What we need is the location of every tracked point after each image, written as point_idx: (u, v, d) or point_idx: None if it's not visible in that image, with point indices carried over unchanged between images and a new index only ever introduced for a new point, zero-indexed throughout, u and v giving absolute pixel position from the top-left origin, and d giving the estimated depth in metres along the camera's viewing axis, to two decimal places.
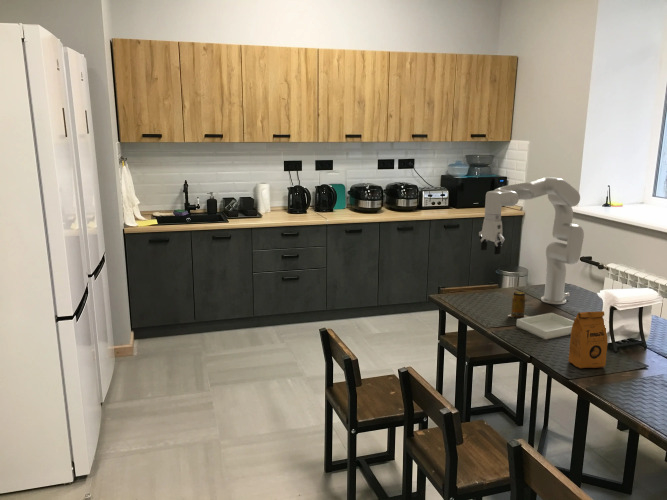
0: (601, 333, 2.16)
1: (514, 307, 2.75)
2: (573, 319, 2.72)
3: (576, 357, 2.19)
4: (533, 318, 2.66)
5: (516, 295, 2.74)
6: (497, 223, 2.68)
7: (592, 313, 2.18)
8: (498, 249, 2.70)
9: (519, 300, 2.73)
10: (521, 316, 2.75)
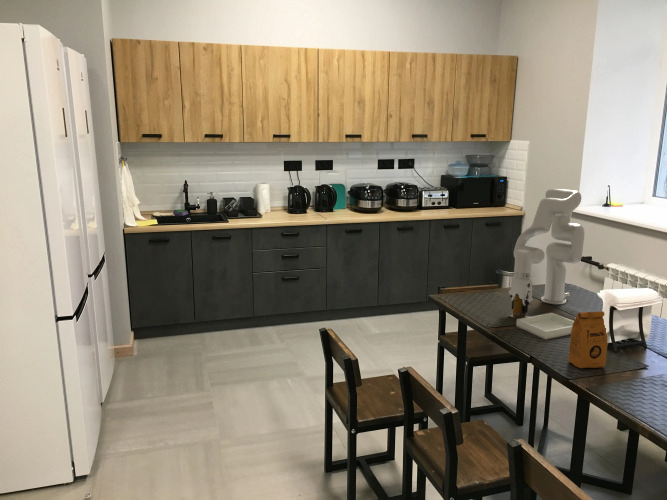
0: (601, 333, 2.16)
1: (515, 307, 2.75)
2: (573, 319, 2.72)
3: (576, 357, 2.19)
4: (533, 318, 2.66)
5: (518, 295, 2.73)
6: (527, 282, 2.69)
7: (592, 313, 2.18)
8: (525, 308, 2.72)
9: (520, 301, 2.73)
10: (522, 316, 2.75)
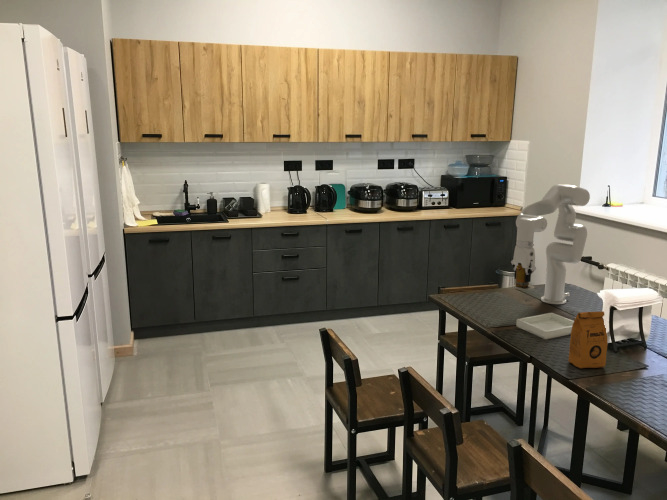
0: (601, 333, 2.16)
1: (518, 277, 2.72)
2: (573, 319, 2.72)
3: (576, 357, 2.19)
4: (533, 318, 2.66)
5: (520, 265, 2.70)
6: (530, 250, 2.66)
7: (592, 313, 2.18)
8: (528, 277, 2.69)
9: (523, 270, 2.70)
10: (525, 286, 2.72)
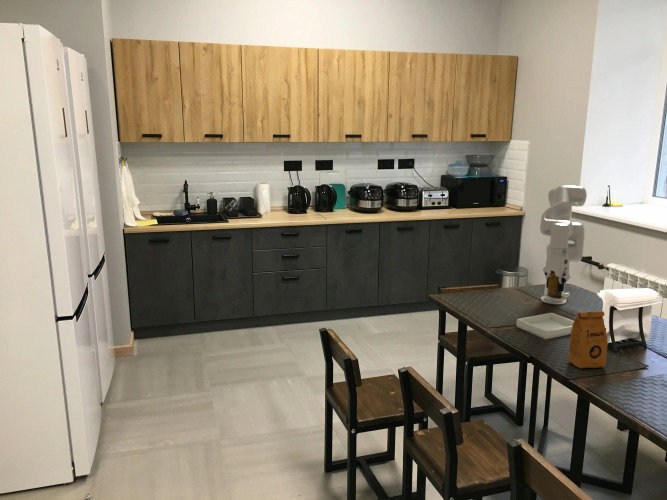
0: (601, 333, 2.16)
1: (551, 286, 2.55)
2: None
3: (576, 357, 2.19)
4: (533, 318, 2.66)
5: (553, 273, 2.54)
6: (564, 258, 2.50)
7: (592, 313, 2.18)
8: (562, 286, 2.53)
9: (556, 278, 2.53)
10: (558, 295, 2.55)
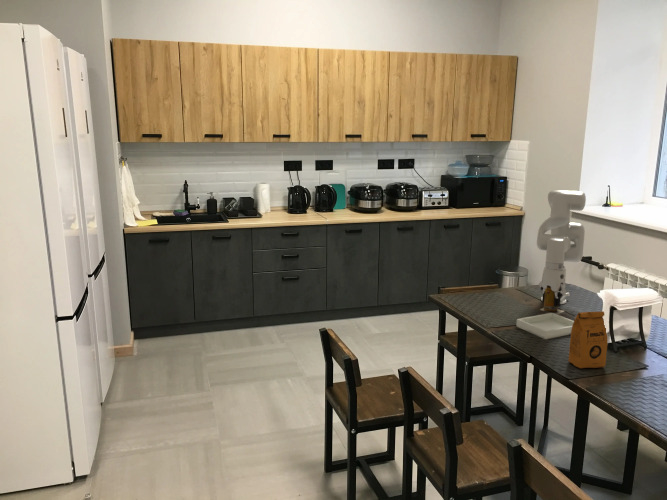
0: (601, 333, 2.16)
1: (547, 300, 2.56)
2: (574, 319, 2.73)
3: (576, 357, 2.19)
4: (533, 318, 2.66)
5: (549, 287, 2.55)
6: (560, 273, 2.50)
7: (592, 313, 2.18)
8: (558, 301, 2.53)
9: (553, 293, 2.54)
10: (554, 310, 2.56)
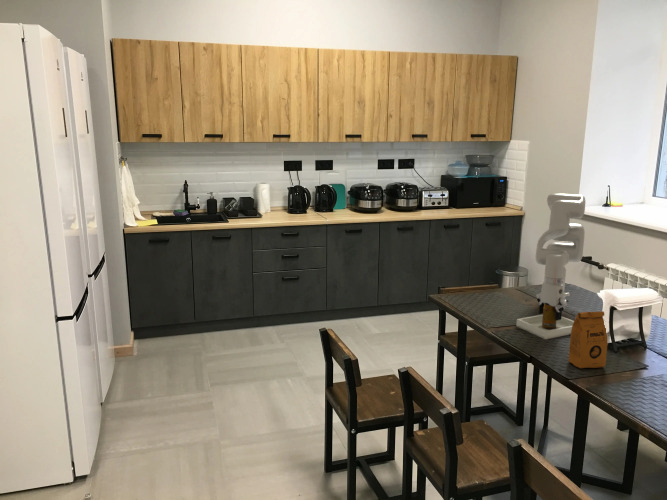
0: (601, 333, 2.16)
1: (545, 318, 2.58)
2: None
3: (576, 357, 2.19)
4: (533, 318, 2.66)
5: (548, 305, 2.57)
6: (559, 288, 2.52)
7: (592, 313, 2.18)
8: (559, 315, 2.54)
9: (551, 310, 2.56)
10: (553, 327, 2.58)
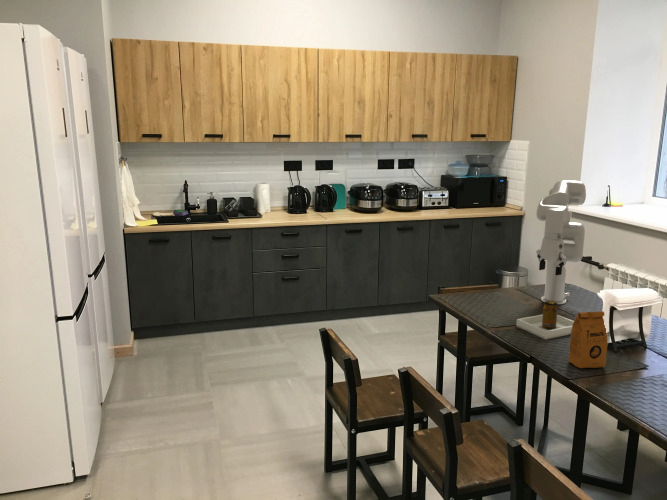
0: (601, 333, 2.16)
1: (545, 318, 2.58)
2: None
3: (576, 357, 2.19)
4: (533, 318, 2.66)
5: (548, 305, 2.57)
6: (559, 243, 2.53)
7: (592, 313, 2.18)
8: (560, 270, 2.55)
9: (551, 310, 2.56)
10: (553, 327, 2.58)
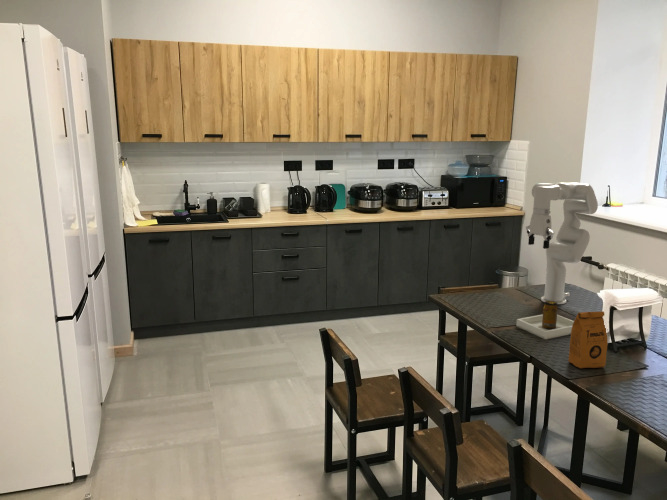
0: (601, 333, 2.16)
1: (545, 318, 2.58)
2: (575, 318, 2.73)
3: (576, 357, 2.19)
4: (533, 318, 2.66)
5: (548, 305, 2.57)
6: (546, 218, 2.70)
7: (592, 313, 2.18)
8: (547, 243, 2.72)
9: (551, 310, 2.56)
10: (553, 327, 2.58)
